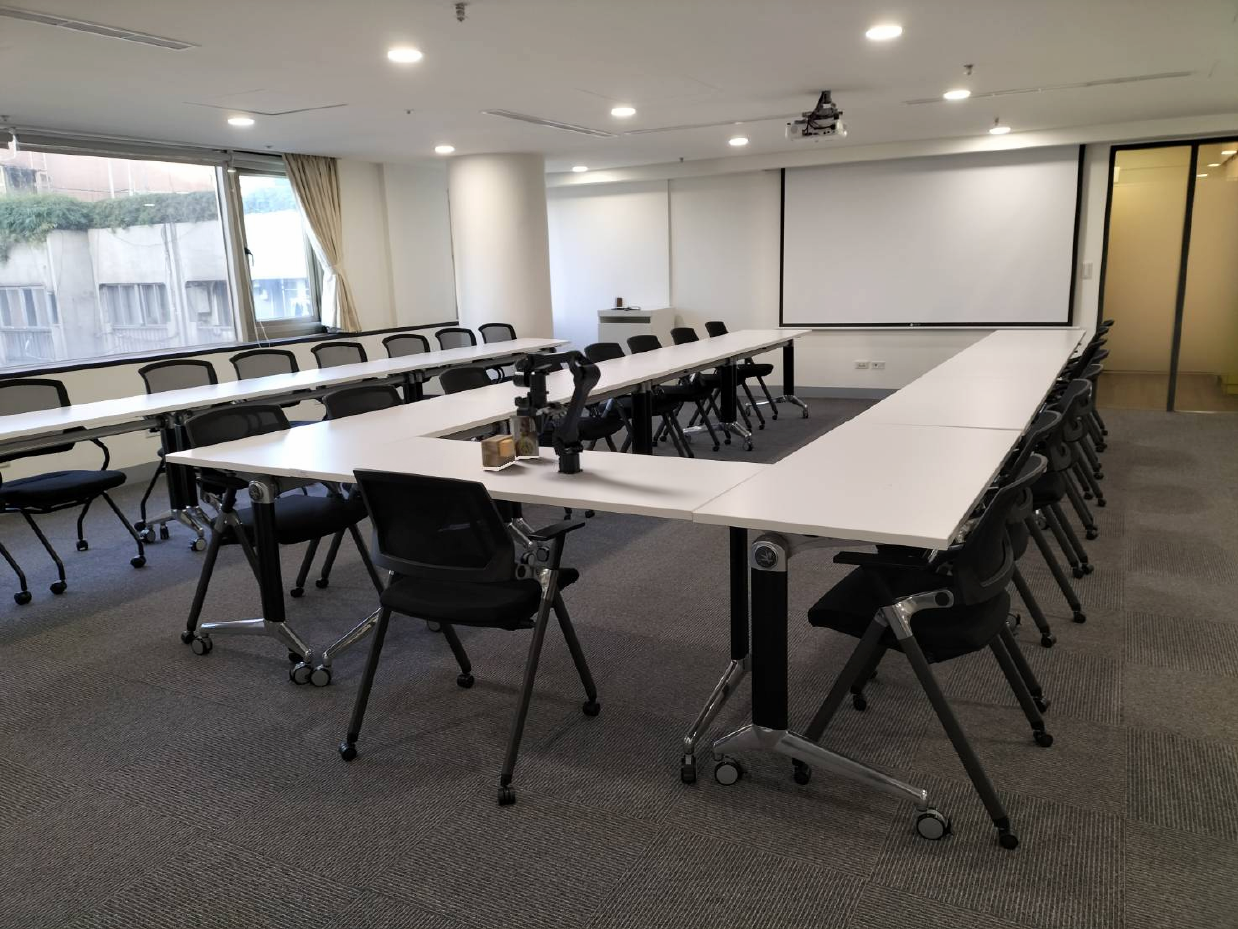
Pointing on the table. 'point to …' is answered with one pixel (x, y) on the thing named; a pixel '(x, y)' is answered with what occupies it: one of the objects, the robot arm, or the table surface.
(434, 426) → the table surface
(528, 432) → the coffee box
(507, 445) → the knob
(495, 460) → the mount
